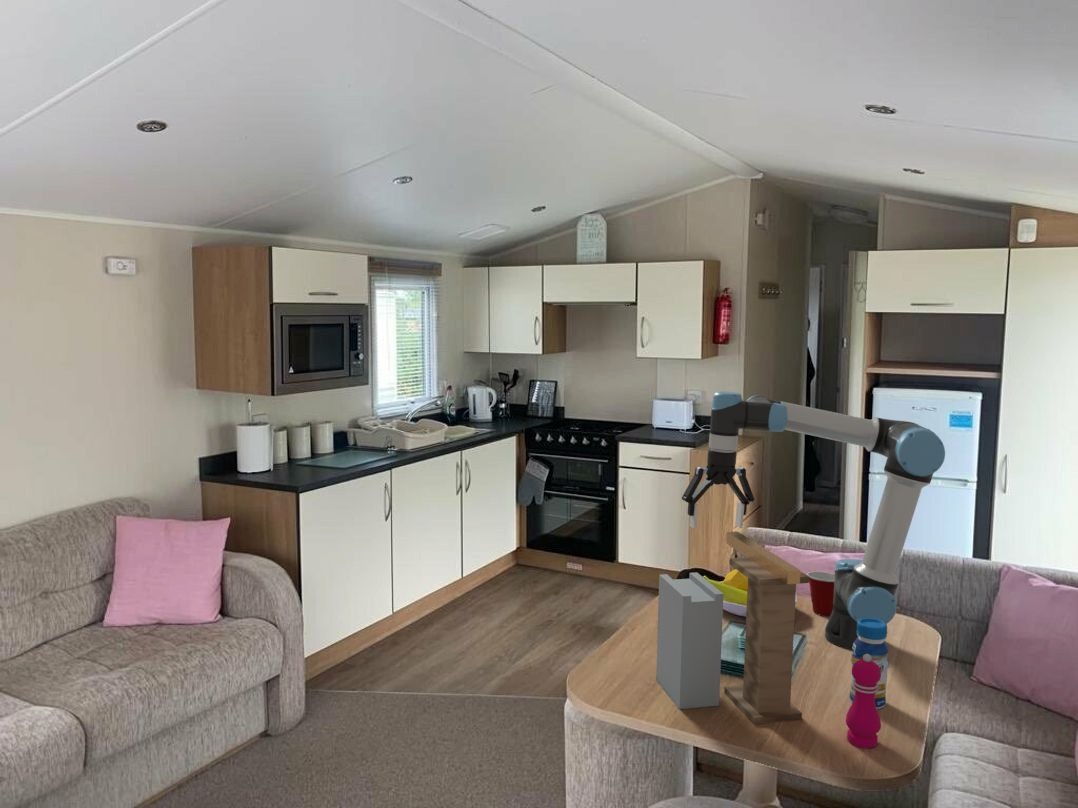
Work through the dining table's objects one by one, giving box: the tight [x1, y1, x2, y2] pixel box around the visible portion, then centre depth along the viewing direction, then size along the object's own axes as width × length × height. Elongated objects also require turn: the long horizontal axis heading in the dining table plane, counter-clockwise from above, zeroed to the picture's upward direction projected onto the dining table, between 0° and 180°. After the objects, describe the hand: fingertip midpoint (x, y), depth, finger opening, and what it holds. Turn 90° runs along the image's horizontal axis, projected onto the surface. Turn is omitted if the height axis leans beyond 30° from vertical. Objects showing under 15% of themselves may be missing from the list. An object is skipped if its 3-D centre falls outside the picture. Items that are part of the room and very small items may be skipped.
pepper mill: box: [845, 654, 882, 749], centre depth 190 cm, size 7×7×20 cm
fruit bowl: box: [702, 568, 797, 618], centre depth 270 cm, size 28×27×11 cm
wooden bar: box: [725, 531, 802, 585], centre depth 207 cm, size 32×3×3 cm, turn 12°
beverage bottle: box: [849, 618, 890, 710], centre depth 208 cm, size 8×8×20 cm
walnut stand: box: [723, 556, 809, 725], centre depth 205 cm, size 16×12×34 cm
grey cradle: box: [655, 571, 724, 710], centre depth 212 cm, size 16×10×28 cm, turn 12°
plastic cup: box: [806, 571, 835, 616], centre depth 269 cm, size 11×11×12 cm
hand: (715, 527), depth 236 cm, fingers open, 13 cm apart
